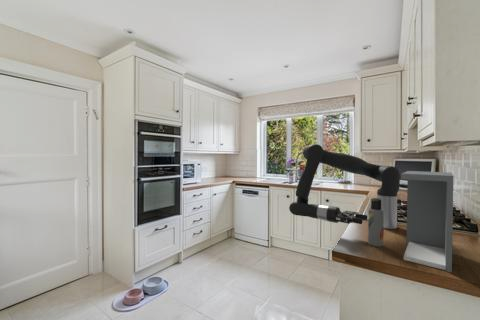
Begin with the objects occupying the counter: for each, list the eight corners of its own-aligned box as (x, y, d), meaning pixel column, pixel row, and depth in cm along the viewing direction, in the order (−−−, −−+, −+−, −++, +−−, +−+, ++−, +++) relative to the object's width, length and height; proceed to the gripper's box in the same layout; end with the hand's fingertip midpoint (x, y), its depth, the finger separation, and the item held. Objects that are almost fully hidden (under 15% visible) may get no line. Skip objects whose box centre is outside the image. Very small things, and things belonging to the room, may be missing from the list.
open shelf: (406, 242, 101) (408, 171, 100) (449, 251, 92) (451, 172, 91) (400, 259, 84) (401, 173, 84) (451, 272, 75) (453, 175, 74)
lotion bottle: (384, 244, 99) (385, 198, 99) (381, 248, 95) (381, 200, 95) (370, 240, 103) (371, 197, 103) (366, 244, 99) (366, 198, 99)
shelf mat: (409, 245, 98) (409, 241, 98) (444, 252, 91) (444, 248, 91) (403, 259, 84) (403, 255, 84) (445, 270, 76) (445, 265, 76)
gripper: (322, 208, 107) (360, 214, 96) (333, 203, 118) (368, 208, 107) (322, 224, 107) (360, 231, 96) (333, 218, 118) (368, 224, 107)
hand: (364, 219), depth 102 cm, fingers open, 8 cm apart
